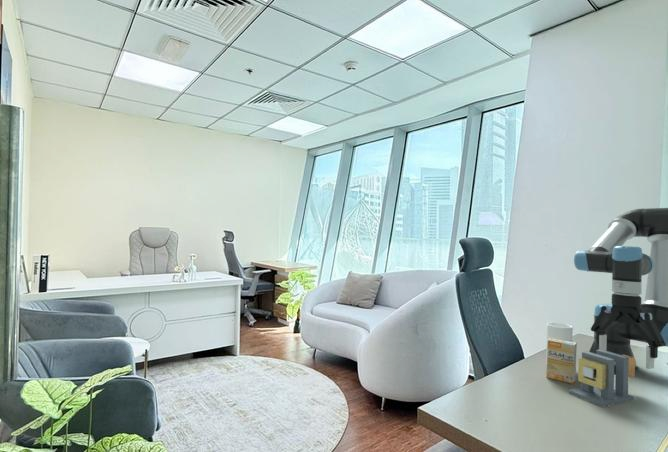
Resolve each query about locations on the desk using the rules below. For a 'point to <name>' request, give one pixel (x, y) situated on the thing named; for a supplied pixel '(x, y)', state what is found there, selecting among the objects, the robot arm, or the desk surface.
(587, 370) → the shaft
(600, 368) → the yellow square frame
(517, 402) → the desk surface
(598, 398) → the bracket
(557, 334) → the white hollow tube
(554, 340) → the supplement box
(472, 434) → the desk surface
